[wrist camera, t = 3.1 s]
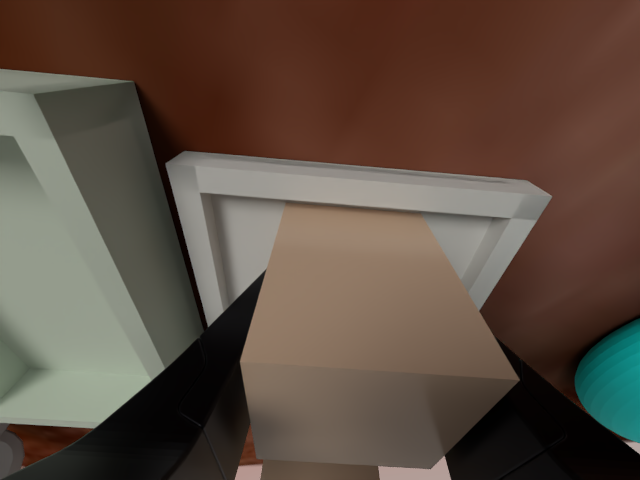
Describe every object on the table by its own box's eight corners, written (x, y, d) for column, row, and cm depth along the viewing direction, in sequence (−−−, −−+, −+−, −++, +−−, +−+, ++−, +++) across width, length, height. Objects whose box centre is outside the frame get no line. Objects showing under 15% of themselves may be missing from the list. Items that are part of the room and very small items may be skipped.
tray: (526, 180, 9) (552, 196, 8) (401, 405, 18) (405, 426, 17) (184, 150, 8) (165, 163, 7) (236, 394, 17) (231, 415, 16)
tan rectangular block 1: (364, 358, 14) (383, 506, 9) (362, 399, 16) (375, 530, 12) (279, 359, 14) (256, 503, 9) (290, 399, 17) (276, 528, 12)
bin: (134, 81, 7) (32, 94, 5) (216, 376, 16) (196, 434, 14) (-290, 42, 7) (-630, 34, 4) (33, 364, 16) (-21, 421, 13)
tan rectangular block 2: (420, 213, 9) (519, 379, 4) (389, 304, 11) (430, 468, 7) (285, 202, 9) (239, 361, 4) (285, 297, 11) (256, 459, 7)
